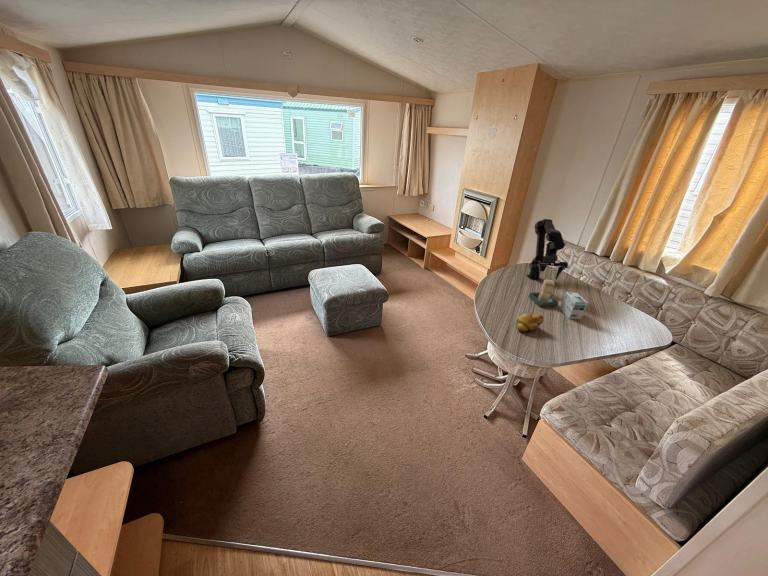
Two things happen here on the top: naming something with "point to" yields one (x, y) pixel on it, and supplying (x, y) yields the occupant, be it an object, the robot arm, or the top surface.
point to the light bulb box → (573, 305)
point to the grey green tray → (550, 303)
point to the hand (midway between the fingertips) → (547, 278)
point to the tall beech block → (546, 290)
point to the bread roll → (529, 322)
